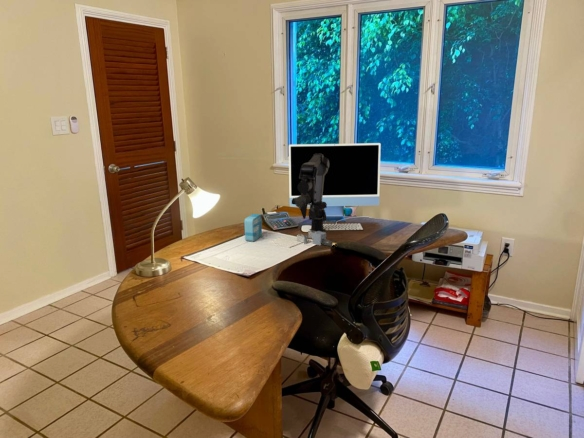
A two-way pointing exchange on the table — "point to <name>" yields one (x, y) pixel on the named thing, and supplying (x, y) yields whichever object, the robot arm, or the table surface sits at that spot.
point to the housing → (305, 237)
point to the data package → (253, 227)
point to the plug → (321, 239)
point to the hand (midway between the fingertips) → (308, 219)
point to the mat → (285, 242)
